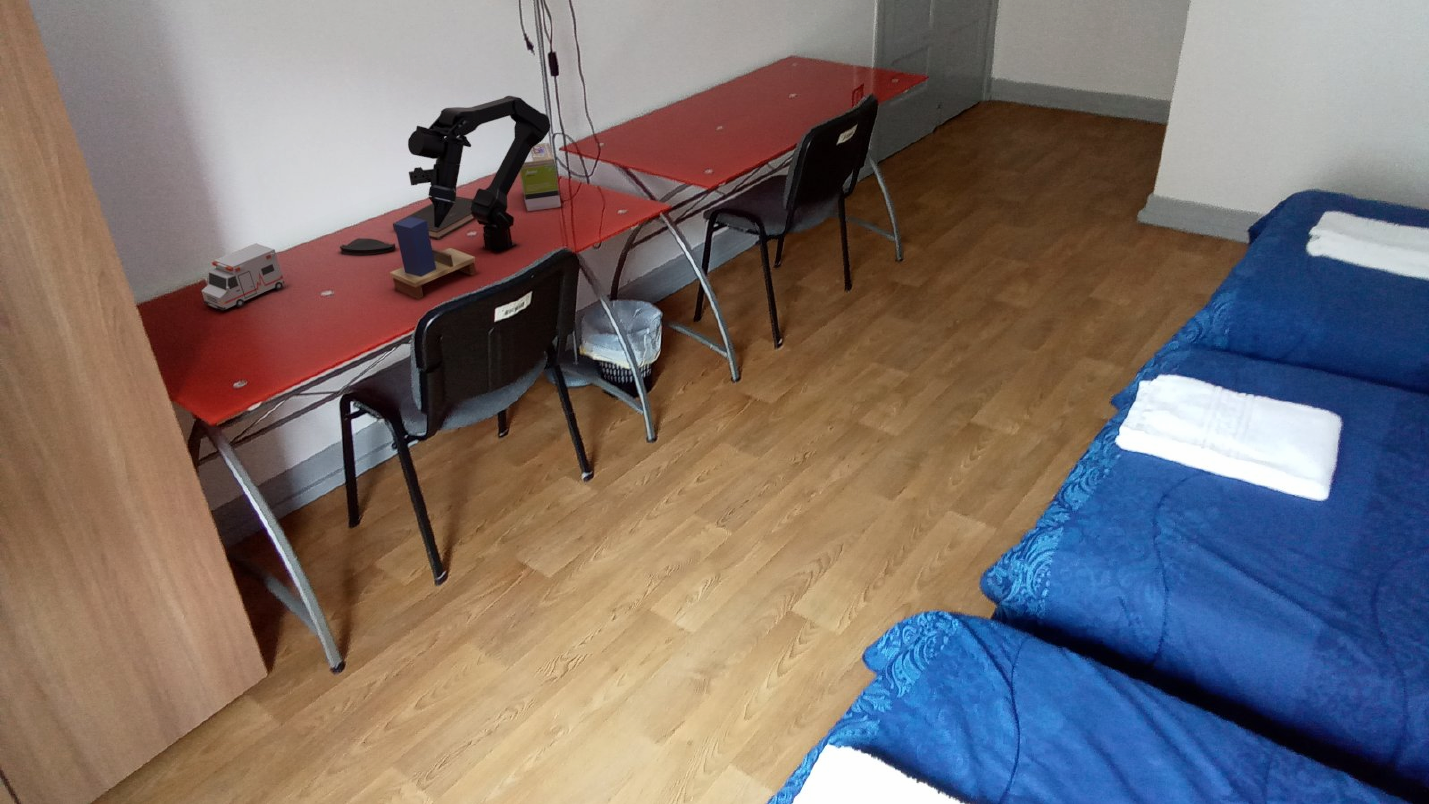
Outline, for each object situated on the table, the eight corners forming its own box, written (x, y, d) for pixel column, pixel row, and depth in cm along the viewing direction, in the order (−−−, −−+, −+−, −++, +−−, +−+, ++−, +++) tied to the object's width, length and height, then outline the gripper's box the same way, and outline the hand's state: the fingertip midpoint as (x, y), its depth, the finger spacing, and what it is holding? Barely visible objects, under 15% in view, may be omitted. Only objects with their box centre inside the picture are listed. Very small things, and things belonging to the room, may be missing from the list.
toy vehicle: (203, 306, 237) (189, 268, 232) (265, 278, 249) (254, 242, 244) (226, 315, 233) (213, 276, 227) (289, 287, 244) (277, 249, 239)
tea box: (522, 194, 293) (515, 145, 285) (556, 190, 295) (549, 141, 287) (526, 212, 281) (519, 161, 273) (561, 207, 283) (555, 157, 275)
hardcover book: (491, 209, 283) (490, 202, 282) (438, 239, 266) (437, 231, 265) (448, 202, 290) (447, 194, 289) (393, 230, 273) (391, 222, 272)
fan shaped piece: (382, 258, 257) (381, 253, 256) (339, 253, 261) (338, 247, 260) (401, 246, 264) (400, 240, 263) (358, 240, 268) (357, 235, 267)
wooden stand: (453, 263, 253) (448, 236, 249) (478, 273, 247) (473, 245, 243) (393, 289, 241) (387, 260, 237) (418, 300, 236) (412, 271, 232)
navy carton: (420, 264, 242) (409, 216, 235) (436, 269, 240) (426, 220, 233) (405, 272, 238) (394, 223, 232) (421, 277, 236) (410, 228, 229)
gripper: (415, 152, 246) (405, 214, 249) (412, 155, 228) (401, 221, 232) (461, 163, 249) (450, 224, 252) (461, 166, 232) (449, 232, 235)
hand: (437, 225), depth 243 cm, fingers open, 9 cm apart
